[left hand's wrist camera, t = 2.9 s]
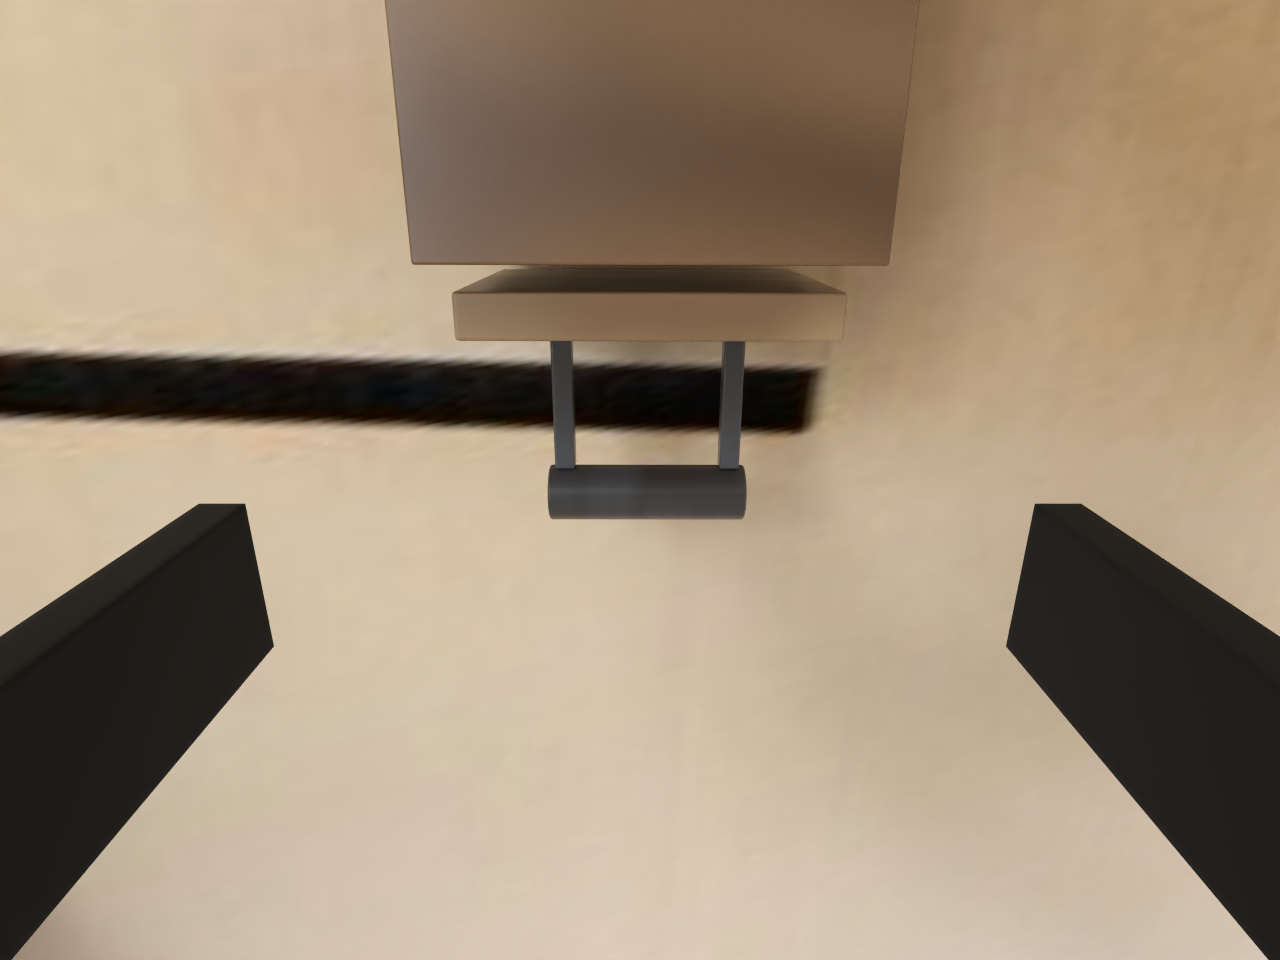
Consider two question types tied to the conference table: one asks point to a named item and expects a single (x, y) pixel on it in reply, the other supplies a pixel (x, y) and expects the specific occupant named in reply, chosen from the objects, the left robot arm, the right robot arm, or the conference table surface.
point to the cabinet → (651, 130)
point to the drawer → (648, 313)
